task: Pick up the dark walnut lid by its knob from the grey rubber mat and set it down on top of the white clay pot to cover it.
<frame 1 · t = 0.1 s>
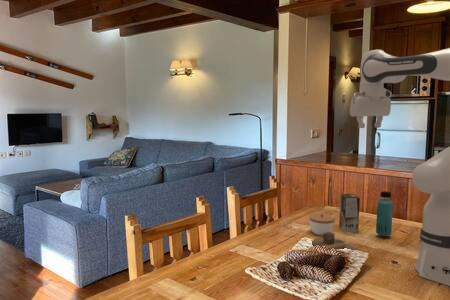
hand: (369, 127, 152), 48 cm above the table, tool pointing down, fingers open, 8 cm apart
lid: (328, 246, 153), point 1 cm above the table, touching mat
lidded jar: (321, 234, 169), on the table
mat: (328, 247, 153), on the table
coffee box: (348, 230, 175), on the table
beverage bottle: (383, 237, 166), on the table
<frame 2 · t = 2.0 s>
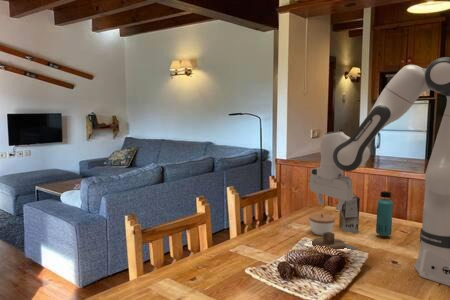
hand: (329, 206, 151), 17 cm above the table, tool pointing down, fingers open, 8 cm apart
nothing on the table moved.
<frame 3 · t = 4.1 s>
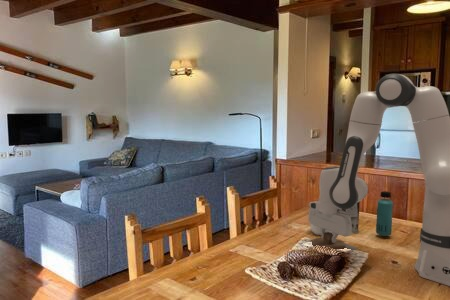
hand: (328, 240, 153), 3 cm above the table, tool pointing down, fingers closed on lid, 3 cm apart
lid: (328, 246, 153), point 1 cm above the table, touching gripper, mat
everything else where it was.
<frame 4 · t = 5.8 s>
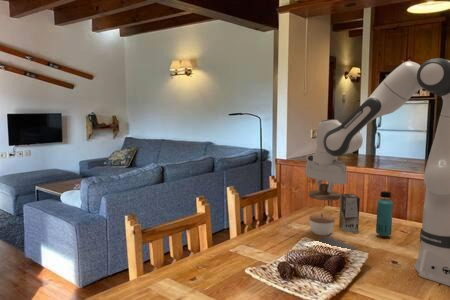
hand: (324, 191, 159), 21 cm above the table, tool pointing down, fingers closed on lid, 3 cm apart
lid: (324, 196, 160), point 19 cm above the table, touching gripper
everything else where it was.
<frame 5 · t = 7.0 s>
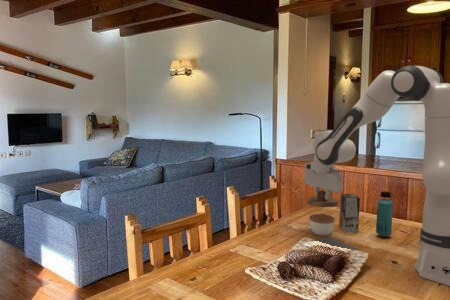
hand: (322, 198, 167), 16 cm above the table, tool pointing down, fingers closed on lid, 3 cm apart
lid: (322, 203, 167), point 14 cm above the table, touching gripper
everything else where it was.
when the fingers open (13 cm above the table, at t = 7.8 s): lid stays where it is, resting on lidded jar.
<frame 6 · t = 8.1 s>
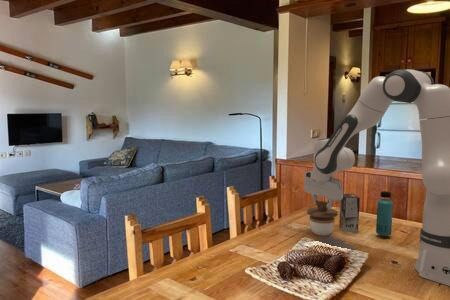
hand: (322, 206, 167), 13 cm above the table, tool pointing down, fingers open, 6 cm apart
lid: (322, 213, 167), point 9 cm above the table, touching lidded jar
lidded jar: (321, 234, 169), on the table, touching lid
everything else where it was.
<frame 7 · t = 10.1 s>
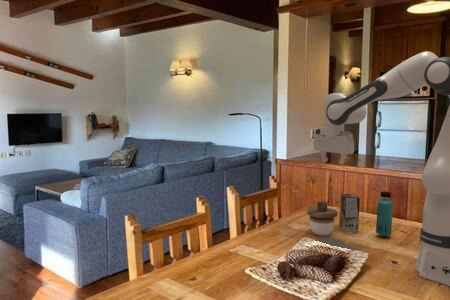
hand: (333, 162, 165), 32 cm above the table, tool pointing down, fingers open, 8 cm apart
nothing on the table moved.
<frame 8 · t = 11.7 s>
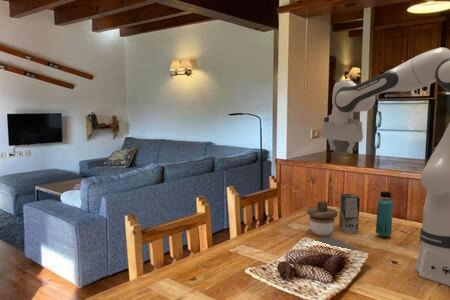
hand: (340, 150, 165), 37 cm above the table, tool pointing down, fingers open, 8 cm apart
nothing on the table moved.
at the end: lid 0.1 cm from the lidded jar (horizontally); lid point 9.4 cm above the table; lid tilted 1° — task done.
